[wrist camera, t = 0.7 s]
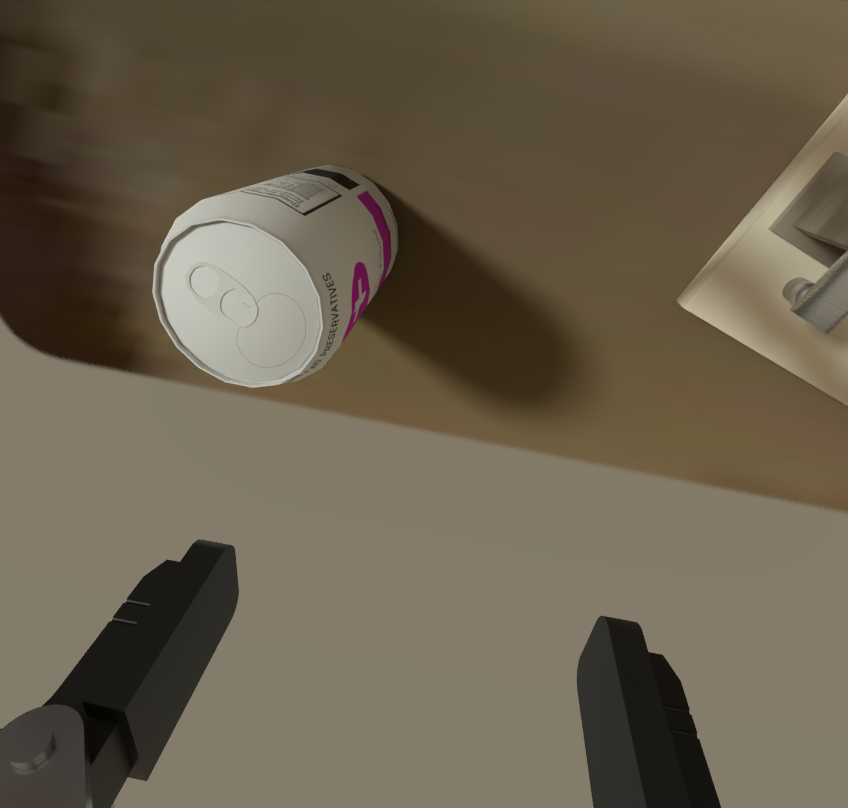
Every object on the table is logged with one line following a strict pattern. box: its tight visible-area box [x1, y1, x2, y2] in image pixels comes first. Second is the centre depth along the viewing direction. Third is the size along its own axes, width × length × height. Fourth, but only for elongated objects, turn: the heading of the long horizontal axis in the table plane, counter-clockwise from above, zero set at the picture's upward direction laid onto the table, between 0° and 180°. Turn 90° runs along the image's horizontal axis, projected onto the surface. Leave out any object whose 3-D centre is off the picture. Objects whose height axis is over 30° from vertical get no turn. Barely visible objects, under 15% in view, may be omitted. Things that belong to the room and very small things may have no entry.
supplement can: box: [152, 165, 398, 388], centre depth 27 cm, size 8×8×15 cm
